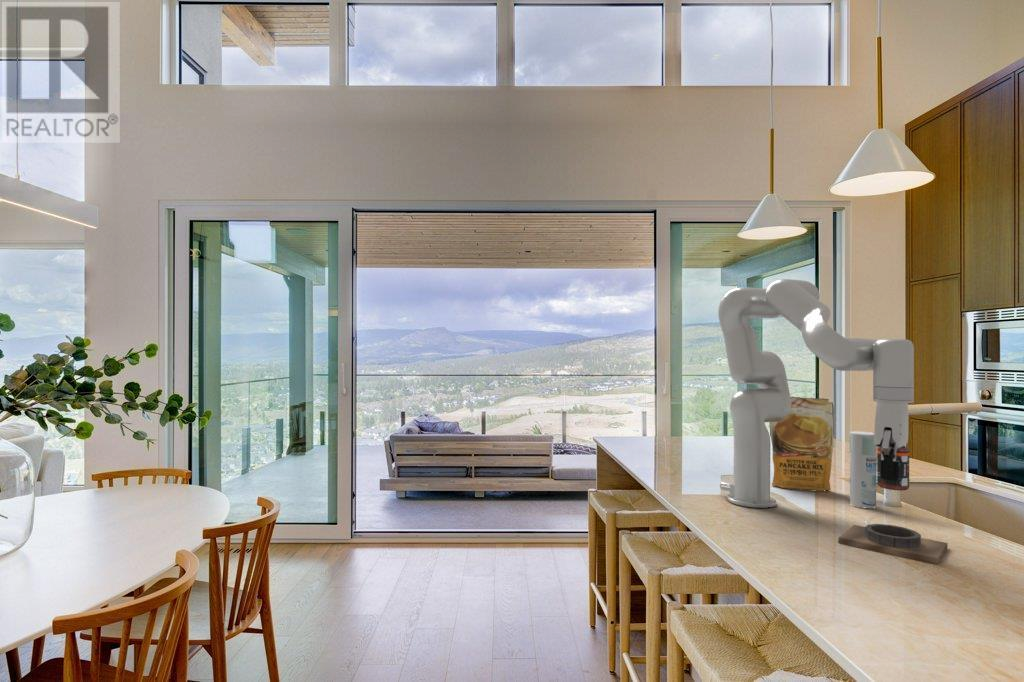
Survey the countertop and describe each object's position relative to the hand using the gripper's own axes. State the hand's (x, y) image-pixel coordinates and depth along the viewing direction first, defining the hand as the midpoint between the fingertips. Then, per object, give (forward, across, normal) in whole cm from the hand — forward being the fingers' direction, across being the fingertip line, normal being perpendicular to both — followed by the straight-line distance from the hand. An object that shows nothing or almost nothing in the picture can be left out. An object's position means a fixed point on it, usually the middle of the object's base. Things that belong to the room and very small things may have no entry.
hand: (893, 476), depth 128 cm
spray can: (+15, -33, -13) cm, 38 cm away
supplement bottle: (+3, 0, 0) cm, 3 cm away
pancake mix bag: (+15, -42, -32) cm, 55 cm away
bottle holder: (+15, 0, 0) cm, 15 cm away
